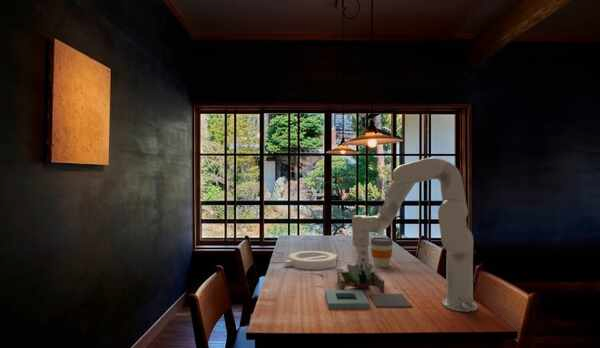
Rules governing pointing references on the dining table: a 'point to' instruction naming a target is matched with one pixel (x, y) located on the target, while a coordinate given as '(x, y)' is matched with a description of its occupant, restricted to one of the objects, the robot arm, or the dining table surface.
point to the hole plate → (346, 299)
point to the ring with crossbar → (312, 260)
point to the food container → (354, 276)
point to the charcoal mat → (390, 300)
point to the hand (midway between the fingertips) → (361, 281)
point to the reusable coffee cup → (381, 251)
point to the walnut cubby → (375, 278)
